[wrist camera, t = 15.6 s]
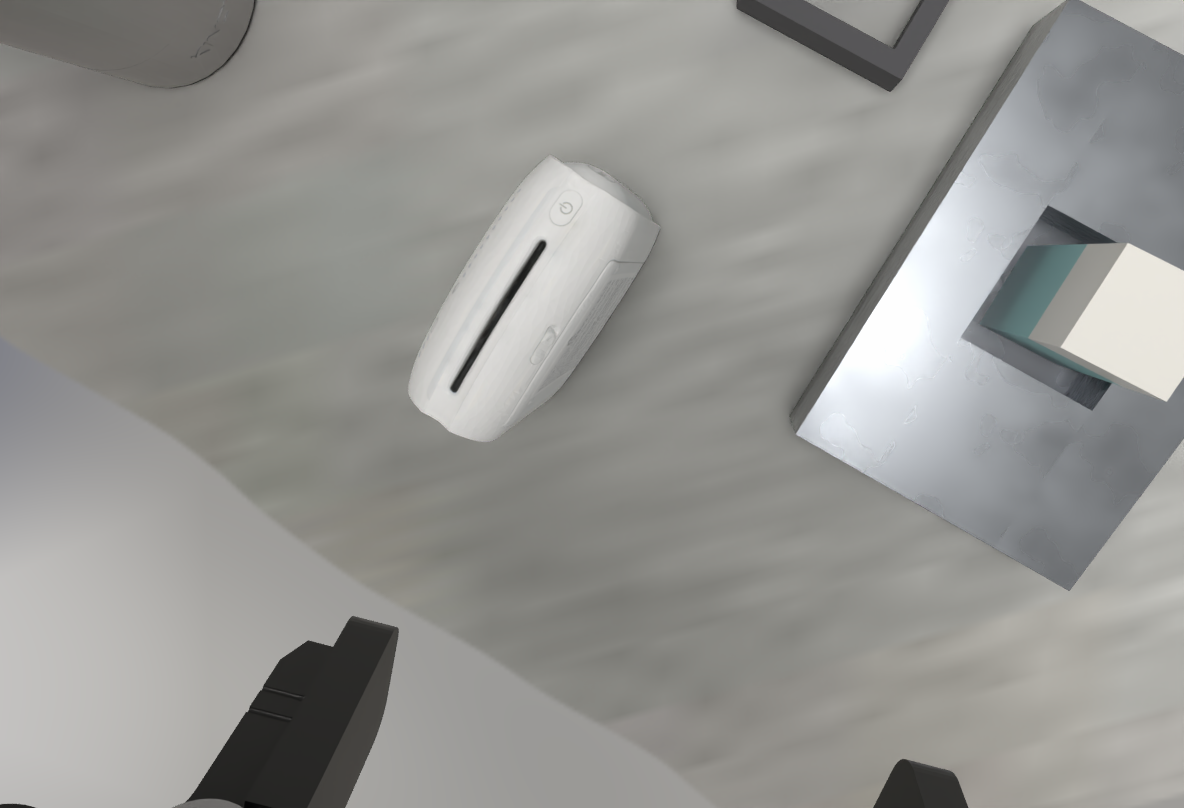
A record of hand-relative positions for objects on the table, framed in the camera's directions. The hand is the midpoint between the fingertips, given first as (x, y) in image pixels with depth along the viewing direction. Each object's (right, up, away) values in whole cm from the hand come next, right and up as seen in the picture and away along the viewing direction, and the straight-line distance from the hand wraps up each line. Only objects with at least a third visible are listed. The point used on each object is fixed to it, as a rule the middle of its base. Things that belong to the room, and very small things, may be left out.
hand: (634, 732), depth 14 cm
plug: (+17, +9, +21) cm, 29 cm away
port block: (+17, +9, +22) cm, 30 cm away
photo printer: (-1, +10, +25) cm, 27 cm away
